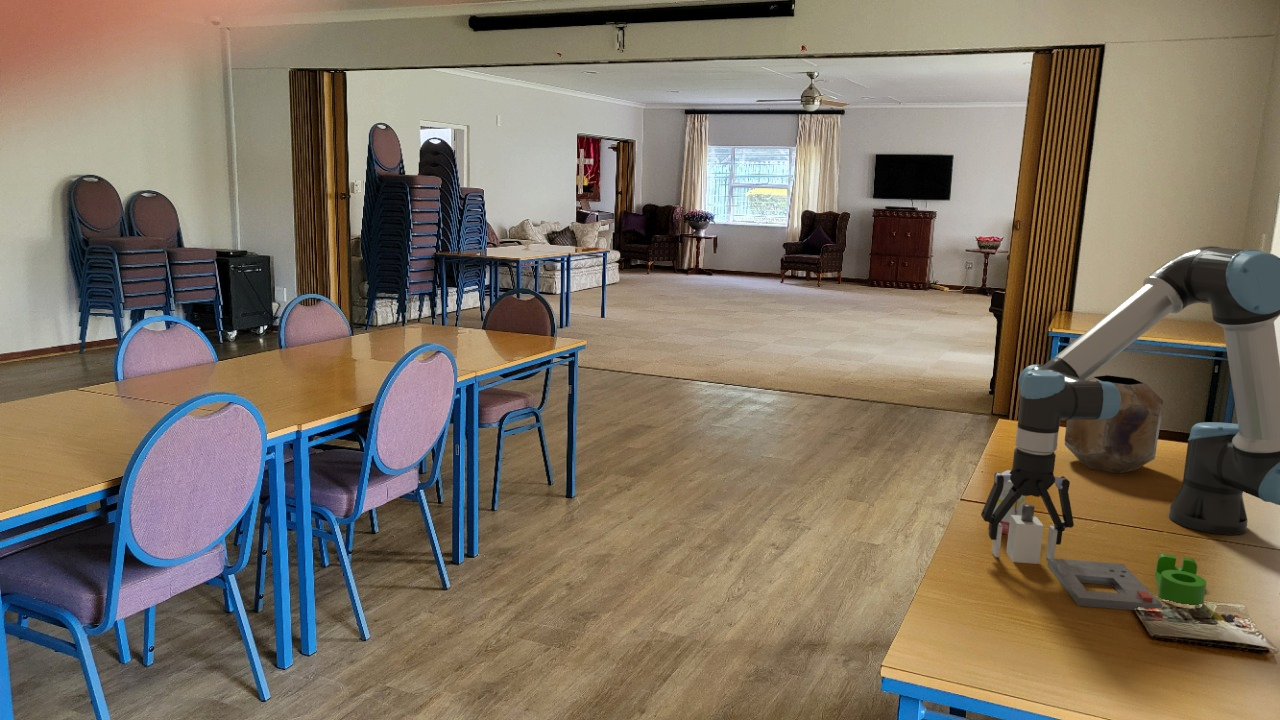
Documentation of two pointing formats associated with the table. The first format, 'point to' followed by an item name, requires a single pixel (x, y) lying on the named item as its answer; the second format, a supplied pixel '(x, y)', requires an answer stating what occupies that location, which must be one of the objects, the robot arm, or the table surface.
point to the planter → (1119, 430)
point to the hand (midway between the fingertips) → (1022, 556)
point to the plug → (1025, 536)
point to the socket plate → (1104, 574)
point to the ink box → (1014, 510)
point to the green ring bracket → (1179, 581)
